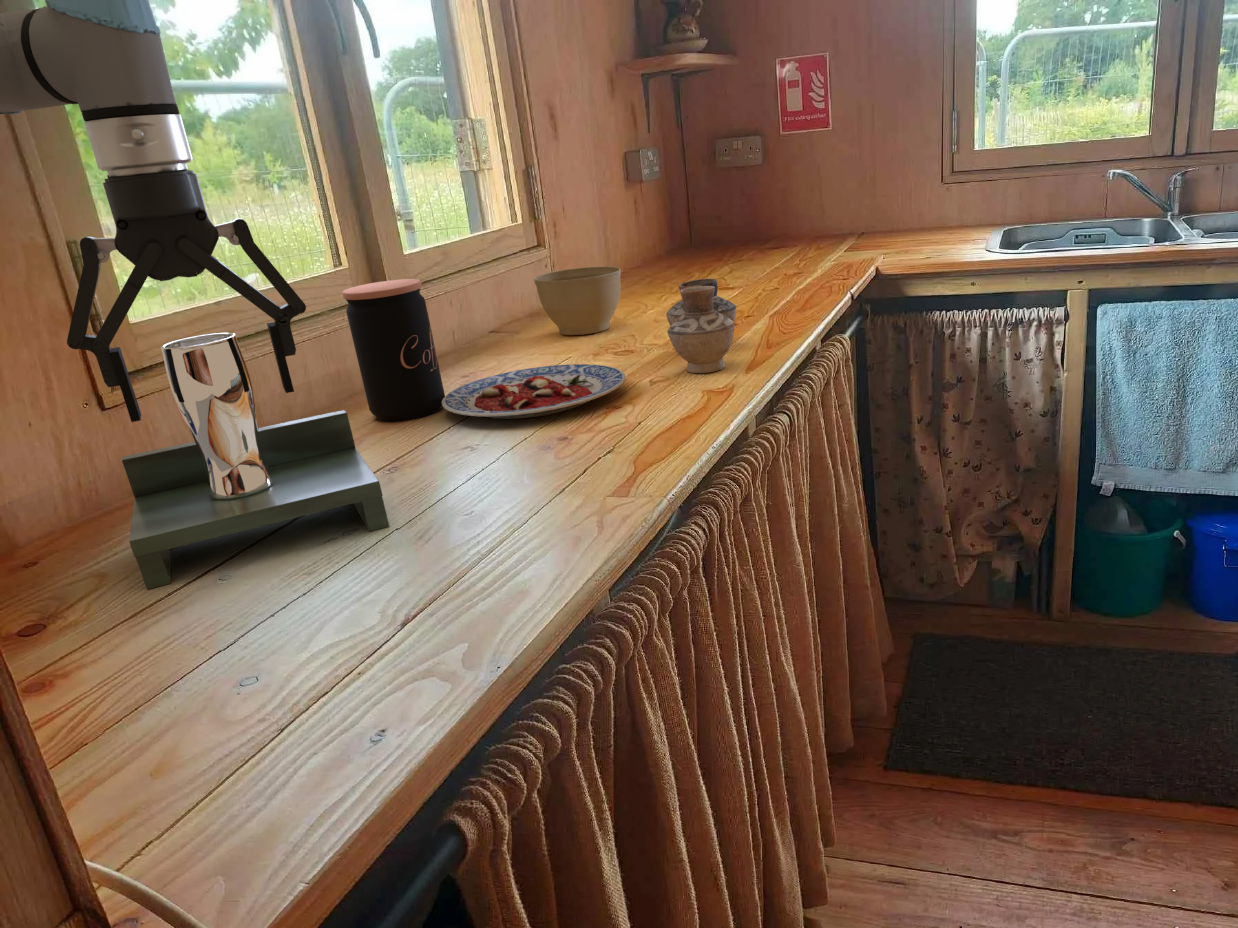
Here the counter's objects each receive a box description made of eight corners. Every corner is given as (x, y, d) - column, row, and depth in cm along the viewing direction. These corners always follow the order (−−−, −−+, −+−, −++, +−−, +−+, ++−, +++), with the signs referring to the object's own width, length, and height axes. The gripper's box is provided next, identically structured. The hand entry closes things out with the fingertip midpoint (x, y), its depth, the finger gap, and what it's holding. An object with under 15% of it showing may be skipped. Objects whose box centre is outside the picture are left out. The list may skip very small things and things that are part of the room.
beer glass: (238, 476, 101) (195, 333, 95) (293, 476, 99) (253, 330, 93) (189, 501, 95) (140, 350, 89) (247, 502, 93) (200, 347, 87)
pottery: (668, 381, 140) (658, 298, 136) (671, 345, 163) (662, 273, 159) (746, 373, 140) (738, 289, 135) (738, 338, 163) (731, 265, 158)
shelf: (150, 537, 101) (122, 456, 98) (363, 486, 110) (344, 409, 107) (146, 591, 88) (114, 499, 85) (390, 528, 96) (369, 441, 93)
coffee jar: (421, 422, 134) (392, 290, 127) (356, 423, 137) (325, 295, 130) (460, 400, 143) (435, 276, 136) (399, 401, 146) (371, 281, 140)
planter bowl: (592, 341, 174) (583, 280, 170) (525, 339, 182) (515, 281, 178) (644, 322, 186) (637, 264, 182) (579, 321, 194) (571, 266, 190)
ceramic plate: (465, 443, 122) (460, 420, 120) (430, 402, 144) (426, 382, 143) (654, 401, 130) (652, 380, 129) (593, 369, 153) (591, 350, 151)
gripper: (-25, 187, 77) (63, 440, 85) (300, 155, 87) (353, 385, 95) (-11, 186, 84) (71, 422, 92) (291, 157, 93) (341, 372, 101)
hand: (214, 404), depth 93 cm, fingers open, 13 cm apart
